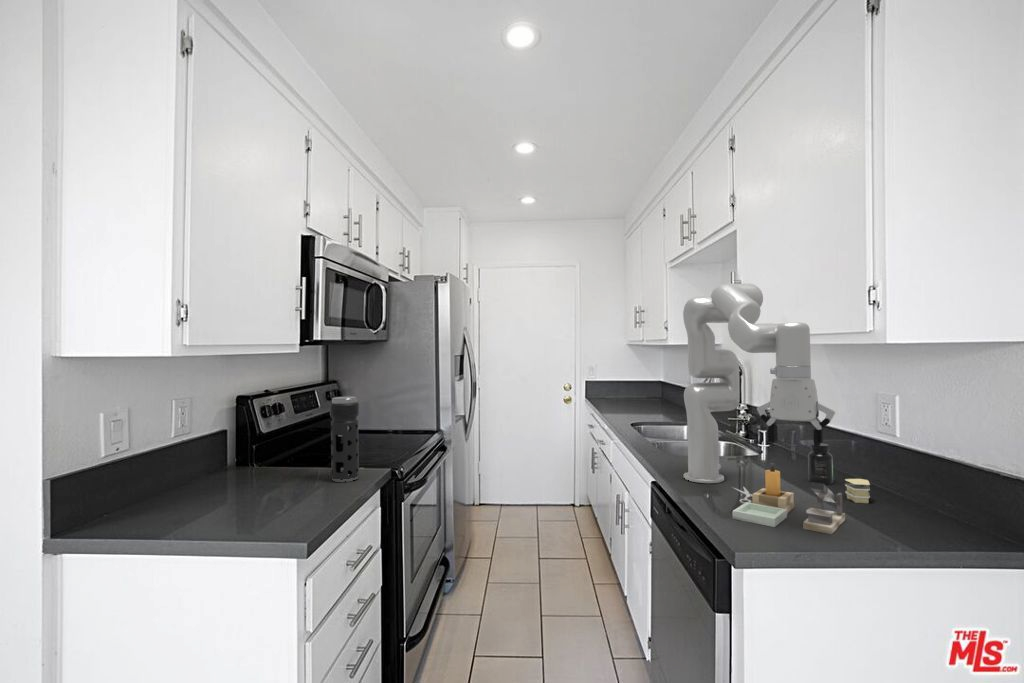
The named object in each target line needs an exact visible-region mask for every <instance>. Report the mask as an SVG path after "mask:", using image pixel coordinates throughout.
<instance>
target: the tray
mask: <svg viewBox="0 0 1024 683" xmlns="http://www.w3.org/2000/svg"><path fill="white" fill-rule="evenodd" d="M745 502H746V501H745ZM787 518H788V513H787V509H783V508H777V507H771V506H766V505H760V504H754V503H753V502H751V503H749V501H747V502H746V503H742V504H741V505H740V506H738V507H737V508H735V509H733V510H732V519H733V520H737V521H741V522H747V523H751V524H757V525H763V526H768V527H772V528H775V527H776V526H778V525H779V524H780V523H782V522H783V521H784V520H786V519H787Z"/></svg>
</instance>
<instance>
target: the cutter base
mask: <svg viewBox="0 0 1024 683" xmlns="http://www.w3.org/2000/svg"><path fill="white" fill-rule="evenodd" d="M816 495H817V494H816ZM835 496H836V503H835V504H836V511H833V510H826V509H825V508H824V506H825V505H824V502H825V501H823V500H822V499H821V498H820V497H819V496H818V495H817V496H816V498H817V508H816V507H815V508H814V507H809V508H807V509H806V512H805V514H808V518H806V519H805V520H804V521H803V522H802V529H803V530H807V531H812V532H813V531H814V532H817V533H823V534H828V535H833V533H835V532H836V530H837V529H838V528H839V527H840V526H841V524H843V523H844V522H845V521H846V513H844V512H843V510H844V509H843V492H842V493H841V492H838V493H837V494H835Z"/></svg>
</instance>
